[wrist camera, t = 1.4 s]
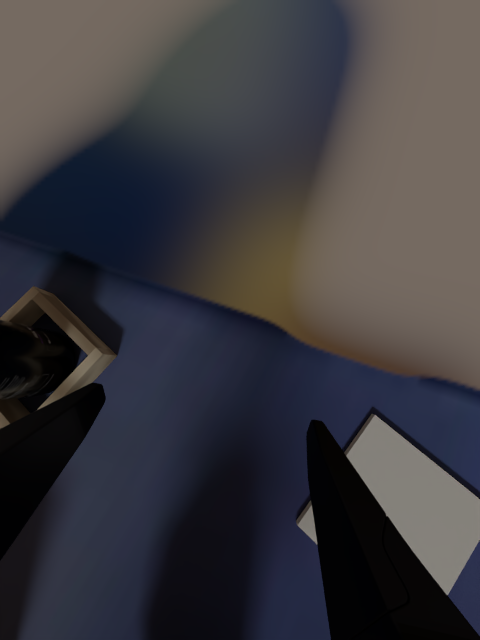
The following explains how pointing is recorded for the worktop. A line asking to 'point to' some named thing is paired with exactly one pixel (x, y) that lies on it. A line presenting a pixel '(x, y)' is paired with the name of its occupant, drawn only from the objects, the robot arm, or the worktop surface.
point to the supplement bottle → (32, 360)
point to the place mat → (414, 500)
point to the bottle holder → (97, 351)
